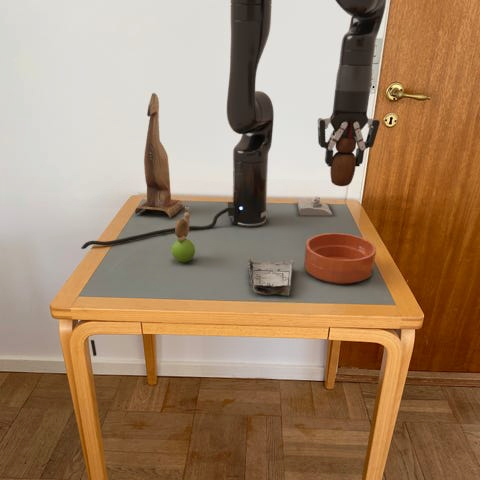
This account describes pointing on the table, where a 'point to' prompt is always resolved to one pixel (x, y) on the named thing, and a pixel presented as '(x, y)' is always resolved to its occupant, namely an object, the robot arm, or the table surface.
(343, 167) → the wooden figurine
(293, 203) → the table surface
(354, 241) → the bowl
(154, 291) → the table surface
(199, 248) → the table surface
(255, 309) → the table surface
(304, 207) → the grey stone carving
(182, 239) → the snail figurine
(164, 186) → the bird sculpture
